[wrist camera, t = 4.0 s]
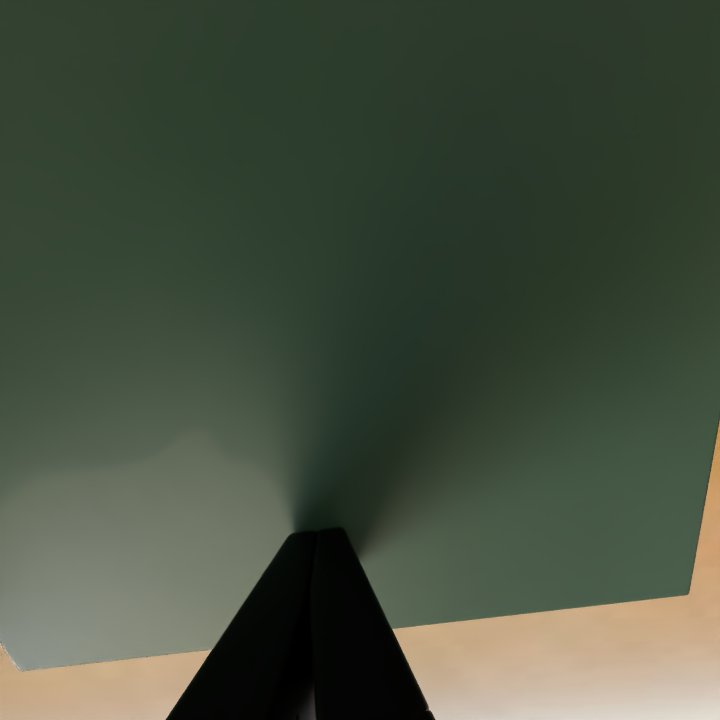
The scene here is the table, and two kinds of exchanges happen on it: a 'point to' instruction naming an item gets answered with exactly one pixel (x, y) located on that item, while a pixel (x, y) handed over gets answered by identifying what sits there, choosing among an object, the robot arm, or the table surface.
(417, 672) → the table surface
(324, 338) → the lid
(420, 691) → the robot arm
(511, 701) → the table surface
